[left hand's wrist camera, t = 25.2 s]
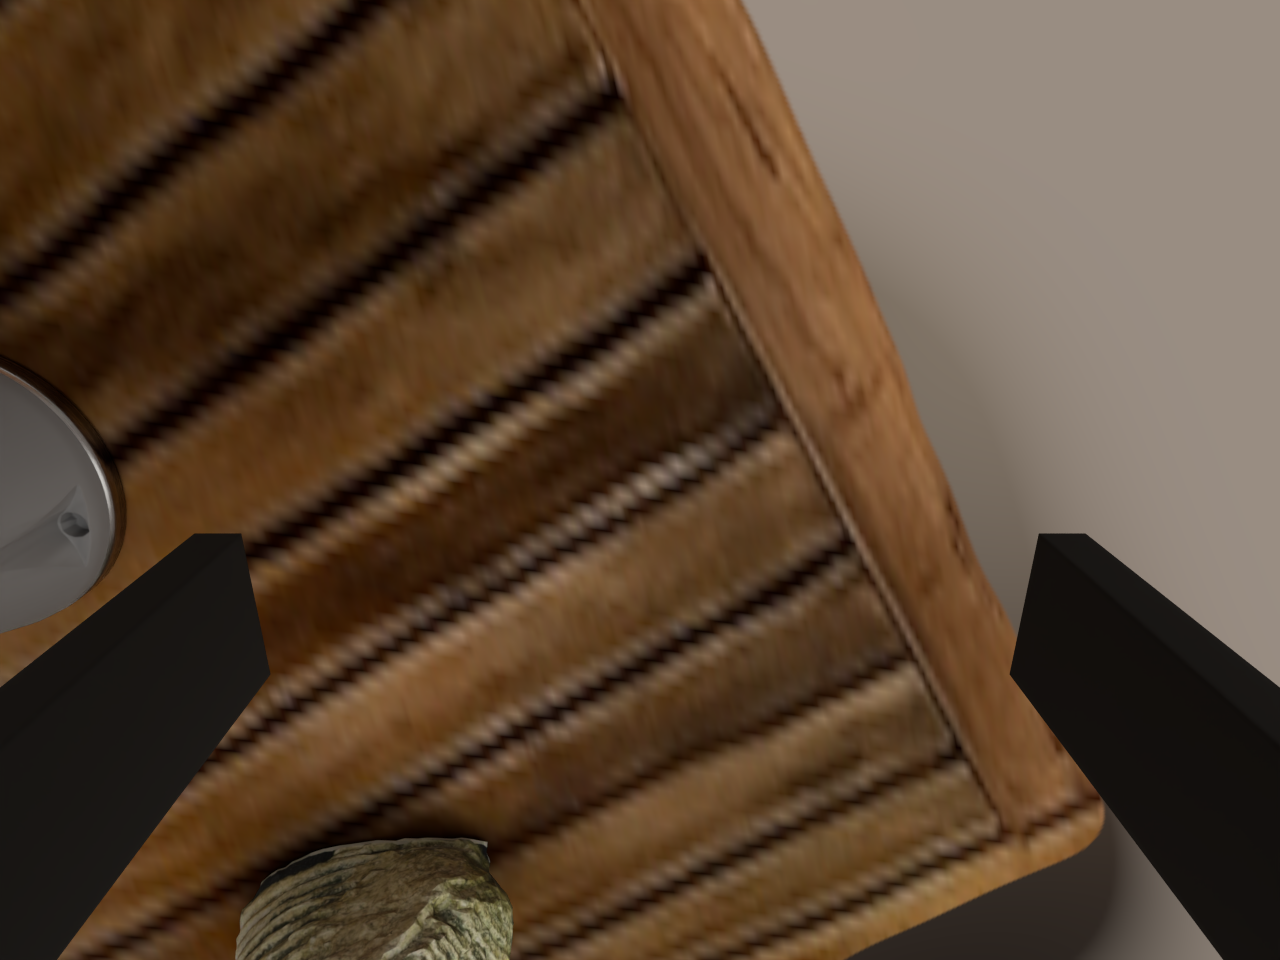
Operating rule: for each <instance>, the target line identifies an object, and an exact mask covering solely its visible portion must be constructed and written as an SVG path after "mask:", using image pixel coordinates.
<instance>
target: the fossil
mask: <svg viewBox="0 0 1280 960" xmlns="http://www.w3.org/2000/svg"><path fill="white" fill-rule="evenodd" d="M486 851H487V842H484V841H479V840H474V839H468V838H455V839H447V838H418V839H416V838H404V839H401V840H397V841H386V840H375V841H368V842H361V843H354V844H347V845H340V846H335V847H331V848H326V849H322V850H319V851H316V852H313V853H310V854H308V855H306V856H304V857H302V858H300V859H298V860H295V861H293V862H291V863H290V864H289V865H288V866H287V867H285V868H282V869H278V870H276V871H275V872H273V873H272V874H270V875H269V876H268V877H267V878H266V879H265V880H263V881H262V882H261V885H260V888H259V890H258V892H257V893H256V895H255V897H254V898H253V899H252V900H251V901H250V902H249V903H248V904H247V905H246V907H245V908H244V909H243V910H242V912H241V917H240V930H241V931H240V934H239V935H238V937H237V939H236V940H237V949H236V960H510V952H511V945H512V938H513V933H512V931H513V911H512V905H511V903H510V900H509V898H508V896H507V894H506V893H505V891H504V890H503V889H502V888H501V887H500V885H499V884H498V883H497V882H496V881H495V879H494V878H493V877H492V876H491V874H490V873H489V866H490V860H489V857H488V855H487V853H486Z"/></svg>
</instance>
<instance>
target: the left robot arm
mask: <svg viewBox="0 0 1280 960" xmlns="http://www.w3.org/2000/svg"><path fill="white" fill-rule="evenodd" d="M125 526H126V507H125V499H124V493H123V489H122V485H121V481H120V478H119V475H118V472H117V469H116V467H115V465H114V463H113V460H112V458H111V456H110V454H109V452H108V451H107V449H106V447H105V445H104V443H103V442H102V440H101V439H100V437H99V436H98V434H97V433H96V431H95V430H94V429H93V427H92V426H91V425H90V423H89V422H88V421H87V420H86V418H85V417H84V416H83V415H82V414H81V413H80V412H79V411H78V410H77V409H76V407H75V406H74V405H73V404H72V403H70V402H69V401H68V400H67V399H66V398H65V397H64V396H63V395H62V394H61V393H59V392H58V391H57V390H56V389H54V388H53V387H52V386H51V385H49V384H48V383H47V382H45V381H44V380H42V379H41V378H39V377H38V376H36V375H35V374H34V373H32V372H30V371H28V370H27V369H25V368H23V367H21V366H20V365H18V364H16V363H14V362H12V361H10V360H7V359H5V358H3V357H1V356H0V633H3V632H7V631H10V630H13V629H17V628H20V627H23V626H27V625H30V624H33V623H35V622H38V621H40V620H43V619H45V618H47V617H49V616H51V615H53V614H55V613H57V612H59V611H61V610H63V609H65V608H66V607H68V606H70V605H71V604H73V603H74V602H76V601H77V600H78V599H80V598H81V597H82V596H84V595H85V594H86V593H88V592H89V591H90V590H92V589H93V588H94V587H95V586H96V585H97V584H99V583H100V582H101V580H102V579H103V578H104V577H105V576H106V575H107V574H108V572H109V571H110V569H111V568H112V566H113V565H114V563H115V561H116V559H117V557H118V555H119V552H120V549H121V547H122V543H123V539H124V534H125ZM269 675H270V670H269V665H268V661H267V656H266V651H265V646H264V641H263V637H262V632H261V627H260V622H259V617H258V613H257V608H256V603H255V598H254V593H253V588H252V584H251V579H250V574H249V569H248V564H247V560H246V555H245V550H244V545H243V540H242V536H241V534H193V535H192V536H191V537H190V538H188V539H187V540H186V541H185V542H183V543H182V544H181V545H180V546H178V547H177V548H176V549H174V550H173V551H172V552H171V553H169V554H168V555H167V556H166V557H164V558H163V559H162V560H161V561H159V562H158V563H157V564H156V565H154V566H153V567H152V568H150V569H149V570H148V571H147V572H145V573H144V574H143V575H142V576H140V577H139V578H138V579H137V580H135V581H134V582H133V583H132V584H130V585H129V586H128V587H127V588H125V589H124V590H123V591H121V592H120V593H119V594H118V595H116V596H115V597H114V598H113V599H111V600H110V601H109V602H108V603H106V604H105V605H104V606H103V607H101V608H100V609H99V610H97V611H96V612H95V613H94V614H92V615H91V616H90V617H89V618H87V619H86V620H85V621H84V622H82V623H81V624H80V625H79V626H77V627H76V628H75V629H74V630H72V631H71V632H70V633H68V634H67V635H66V636H65V637H63V638H62V639H61V640H60V641H58V642H57V643H56V644H55V645H53V646H52V647H51V648H50V649H48V650H47V651H46V652H45V653H43V654H42V655H41V656H39V657H38V658H37V659H36V660H34V661H33V662H32V663H31V664H29V665H28V666H27V667H26V668H24V669H23V670H22V671H21V672H19V673H18V674H17V675H15V676H14V677H13V678H12V679H10V680H9V681H8V682H7V683H5V684H4V685H3V686H2V687H0V960H57V959H58V957H59V956H60V955H61V953H62V952H63V951H64V949H65V948H66V947H67V945H68V944H69V943H70V941H71V940H72V939H73V937H74V936H75V935H76V933H77V932H78V931H79V929H80V928H81V927H82V925H83V924H84V923H85V921H86V920H87V919H88V917H89V916H90V915H91V913H92V912H93V911H94V909H95V908H96V907H97V905H98V904H99V903H100V901H101V900H102V899H103V897H104V896H105V895H106V893H107V892H108V891H109V889H110V888H111V887H112V885H113V884H114V883H115V881H116V880H117V879H118V877H119V876H120V875H121V873H122V872H123V871H124V869H125V868H126V867H127V865H128V864H129V863H130V861H131V860H132V859H133V857H134V856H135V855H136V853H137V852H138V851H139V849H140V848H141V846H142V845H143V844H144V842H145V841H146V840H147V838H148V837H149V836H150V834H151V833H152V832H153V830H154V829H155V828H156V826H157V825H158V824H159V822H160V821H161V820H162V818H163V817H164V816H165V814H166V813H167V812H168V810H169V809H170V808H171V806H172V805H173V804H174V802H175V801H176V800H177V798H178V797H179V796H180V794H181V793H182V792H183V790H184V789H185V788H186V786H187V785H188V784H189V782H190V781H191V780H192V778H193V777H194V776H195V774H196V773H197V772H198V770H199V769H200V768H201V766H202V765H203V764H204V762H205V761H206V760H207V758H208V757H209V756H210V754H211V753H212V752H213V750H214V749H215V748H216V746H217V745H218V744H219V742H220V741H221V740H222V738H223V737H224V736H225V734H226V733H227V732H228V730H229V729H230V728H231V726H232V725H233V724H234V722H235V721H236V720H237V718H238V717H239V716H240V714H241V713H242V712H243V710H244V709H245V708H246V706H247V705H248V704H249V702H250V701H251V700H252V698H253V697H254V696H255V694H256V693H257V692H258V690H259V689H260V688H261V686H262V685H263V684H264V682H265V681H266V680H267V678H268V677H269ZM1010 675H1011V677H1012V678H1013V680H1014V681H1015V682H1016V684H1017V685H1018V686H1019V688H1020V689H1021V690H1022V692H1023V693H1024V694H1025V696H1026V697H1027V698H1028V700H1029V701H1030V702H1031V704H1032V705H1033V706H1034V708H1035V709H1036V710H1037V712H1038V713H1039V714H1040V716H1041V717H1042V718H1043V720H1044V721H1045V722H1046V724H1047V725H1048V726H1049V728H1050V729H1051V730H1052V732H1053V733H1054V734H1055V736H1056V737H1057V738H1058V740H1059V741H1060V742H1061V744H1062V745H1063V746H1064V748H1065V749H1066V750H1067V752H1068V753H1069V754H1070V756H1071V757H1072V758H1073V760H1074V761H1075V762H1076V764H1077V765H1078V766H1079V768H1080V769H1081V770H1082V772H1083V773H1084V774H1085V776H1086V777H1087V778H1088V780H1089V781H1090V782H1091V784H1092V785H1093V786H1094V788H1095V789H1096V790H1097V792H1098V793H1099V794H1100V796H1101V797H1102V798H1103V800H1104V801H1105V802H1106V804H1107V805H1108V806H1109V808H1110V809H1111V810H1112V812H1113V813H1114V814H1115V816H1116V817H1117V818H1118V820H1119V821H1120V822H1121V824H1122V825H1123V826H1124V828H1125V829H1126V830H1127V832H1128V833H1129V834H1130V836H1131V837H1132V838H1133V840H1134V841H1135V842H1136V844H1137V845H1138V846H1139V848H1140V849H1141V850H1142V852H1143V853H1144V855H1145V856H1146V857H1147V858H1148V860H1149V861H1150V862H1151V864H1152V865H1153V867H1154V868H1155V869H1156V871H1157V872H1158V873H1159V875H1160V876H1161V877H1162V879H1163V880H1164V881H1165V883H1166V884H1167V885H1168V887H1169V888H1170V889H1171V891H1172V892H1173V893H1174V895H1175V896H1176V897H1177V899H1178V900H1179V901H1180V903H1181V904H1182V905H1183V907H1184V908H1185V909H1186V911H1187V912H1188V913H1189V915H1190V916H1191V917H1192V919H1193V920H1194V921H1195V923H1196V924H1197V925H1198V927H1199V928H1200V929H1201V931H1202V932H1203V933H1204V935H1205V936H1206V937H1207V939H1208V940H1209V941H1210V943H1211V944H1212V945H1213V947H1214V948H1215V949H1216V951H1217V952H1218V953H1219V955H1220V956H1221V957H1222V959H1223V960H1280V687H1278V686H1277V685H1276V684H1275V683H1273V682H1272V681H1271V680H1270V679H1268V678H1267V677H1266V676H1265V675H1263V674H1262V673H1261V672H1259V671H1258V670H1257V669H1256V668H1254V667H1253V666H1252V665H1251V664H1249V663H1248V662H1247V661H1246V660H1244V659H1243V658H1242V657H1241V656H1239V655H1238V654H1237V653H1235V652H1234V651H1233V650H1232V649H1230V648H1229V647H1228V646H1227V645H1225V644H1224V643H1223V642H1222V641H1220V640H1219V639H1218V638H1217V637H1215V636H1214V635H1213V634H1212V633H1210V632H1209V631H1208V630H1206V629H1205V628H1204V627H1203V626H1201V625H1200V624H1199V623H1198V622H1196V621H1195V620H1194V619H1193V618H1191V617H1190V616H1189V615H1188V614H1186V613H1185V612H1184V611H1182V610H1181V609H1180V608H1179V607H1177V606H1176V605H1175V604H1174V603H1172V602H1171V601H1170V600H1169V599H1167V598H1166V597H1165V596H1164V595H1162V594H1161V593H1160V592H1159V591H1157V590H1156V589H1155V588H1153V587H1152V586H1151V585H1150V584H1148V583H1147V582H1146V581H1144V580H1143V579H1142V578H1141V577H1139V576H1138V575H1137V574H1136V573H1134V572H1133V571H1132V570H1131V569H1129V568H1128V567H1127V566H1126V565H1124V564H1123V563H1122V562H1121V561H1119V560H1118V559H1117V558H1116V557H1114V556H1113V555H1112V554H1111V553H1109V552H1108V551H1107V550H1105V549H1104V548H1103V547H1102V546H1100V545H1099V544H1098V543H1097V542H1095V541H1094V540H1093V539H1092V538H1090V537H1089V536H1088V535H1087V534H1039V536H1038V540H1037V545H1036V550H1035V555H1034V560H1033V564H1032V569H1031V574H1030V579H1029V584H1028V588H1027V593H1026V598H1025V603H1024V608H1023V613H1022V617H1021V622H1020V627H1019V632H1018V637H1017V641H1016V646H1015V651H1014V656H1013V661H1012V665H1011V670H1010Z"/></svg>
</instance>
